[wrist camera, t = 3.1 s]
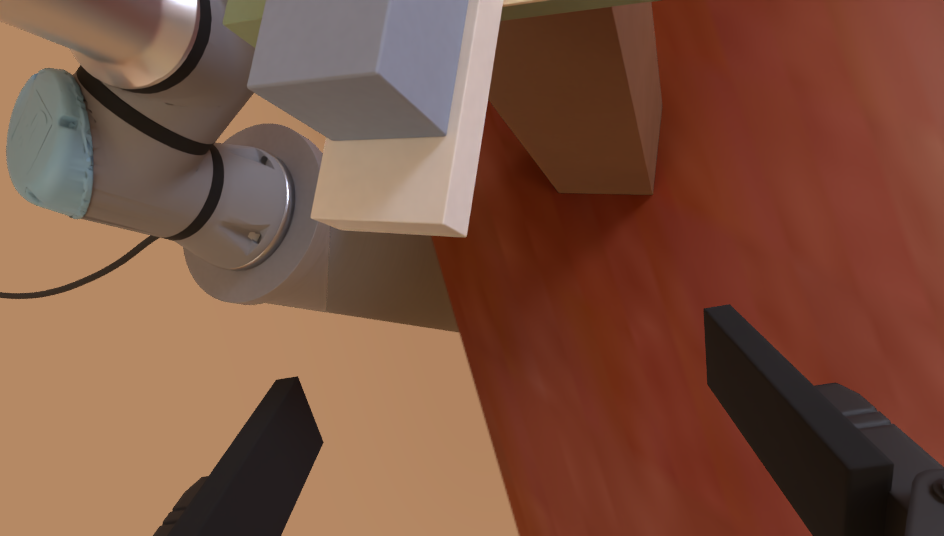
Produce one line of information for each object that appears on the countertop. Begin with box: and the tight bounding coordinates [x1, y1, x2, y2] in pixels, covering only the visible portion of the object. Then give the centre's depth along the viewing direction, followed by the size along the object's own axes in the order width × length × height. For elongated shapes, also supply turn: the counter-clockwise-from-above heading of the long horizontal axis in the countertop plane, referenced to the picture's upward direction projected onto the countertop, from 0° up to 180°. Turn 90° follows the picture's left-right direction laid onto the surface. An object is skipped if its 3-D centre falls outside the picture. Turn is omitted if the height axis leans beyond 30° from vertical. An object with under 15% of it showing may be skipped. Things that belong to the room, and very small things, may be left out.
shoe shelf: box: [223, 0, 662, 195], centre depth 30 cm, size 15×20×30 cm
